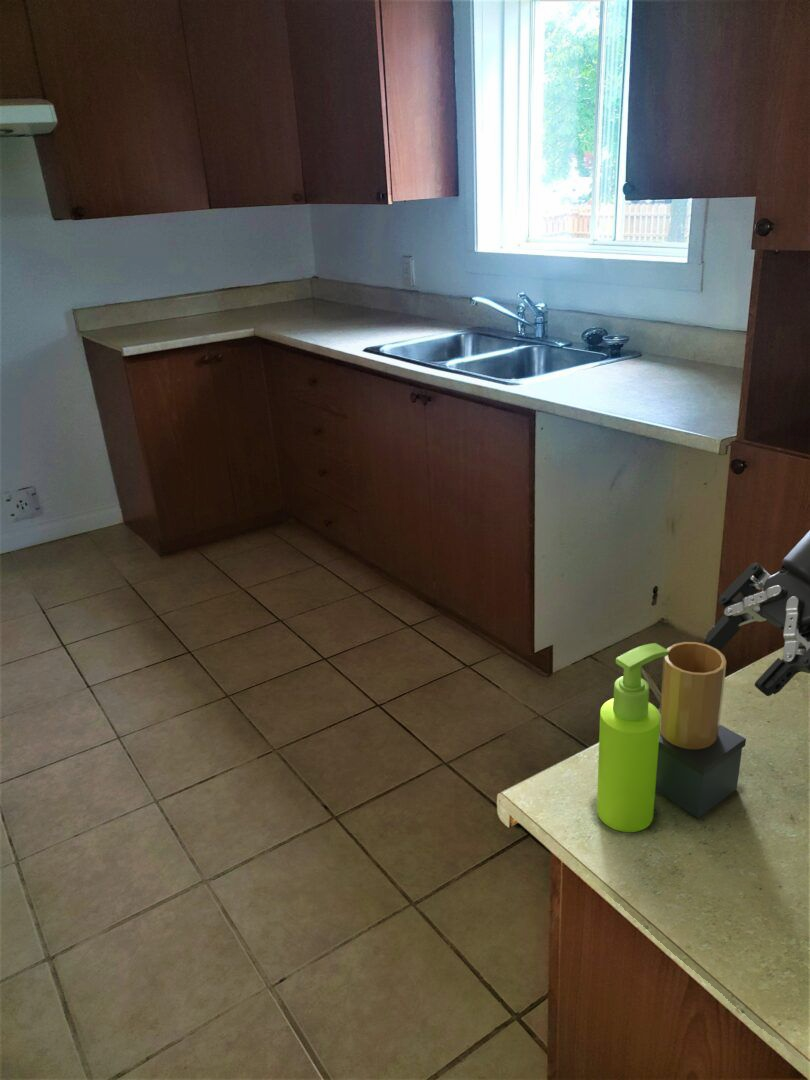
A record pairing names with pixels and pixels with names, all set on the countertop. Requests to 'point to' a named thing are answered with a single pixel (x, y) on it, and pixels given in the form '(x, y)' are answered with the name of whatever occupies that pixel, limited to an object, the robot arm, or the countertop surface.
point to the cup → (692, 695)
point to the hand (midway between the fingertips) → (734, 668)
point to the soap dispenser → (629, 746)
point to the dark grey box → (699, 772)
